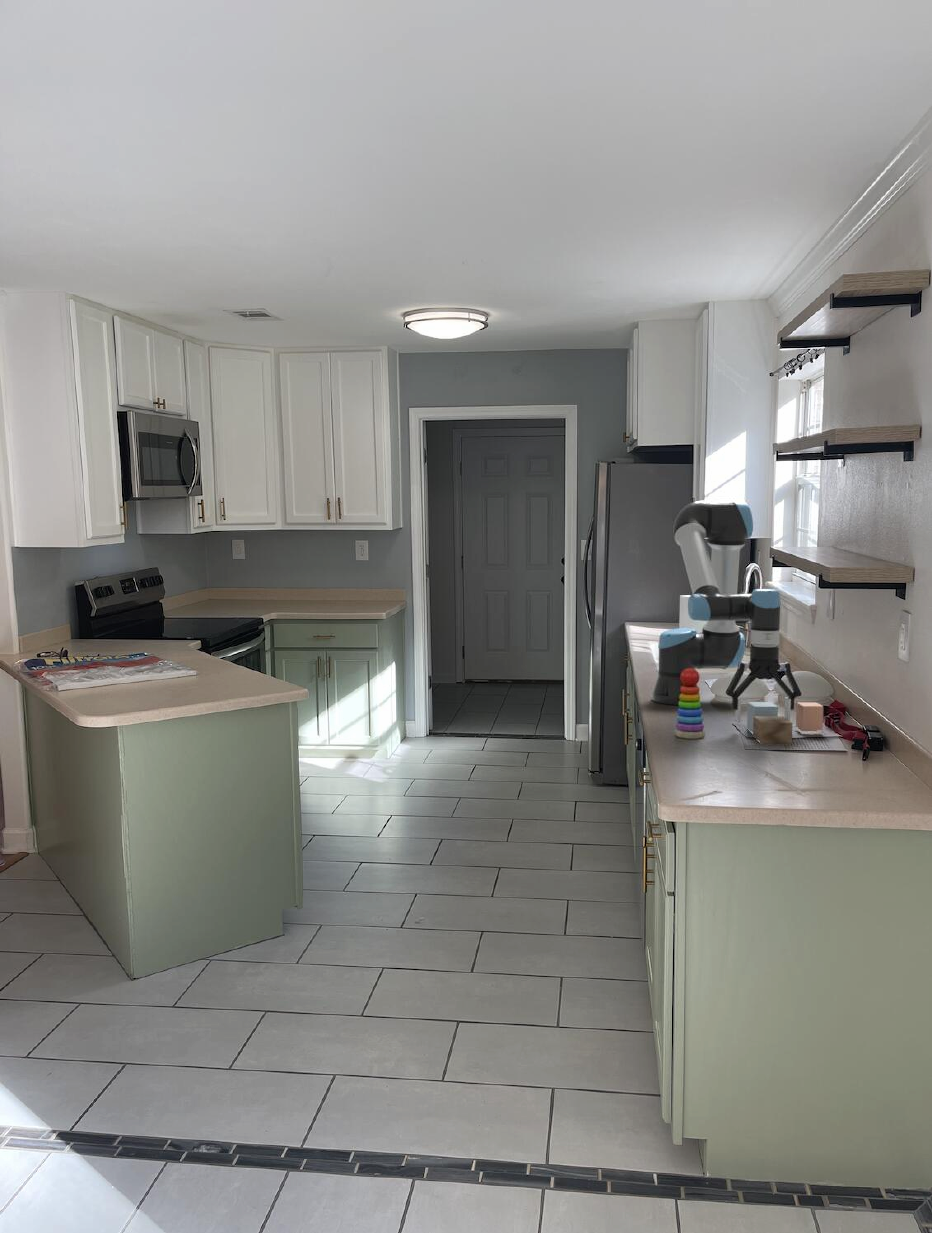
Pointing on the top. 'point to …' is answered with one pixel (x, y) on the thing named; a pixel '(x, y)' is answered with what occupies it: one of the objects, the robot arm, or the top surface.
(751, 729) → the blue grey block
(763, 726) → the walnut block
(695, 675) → the stacking toy
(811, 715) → the terracotta block
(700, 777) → the top surface
